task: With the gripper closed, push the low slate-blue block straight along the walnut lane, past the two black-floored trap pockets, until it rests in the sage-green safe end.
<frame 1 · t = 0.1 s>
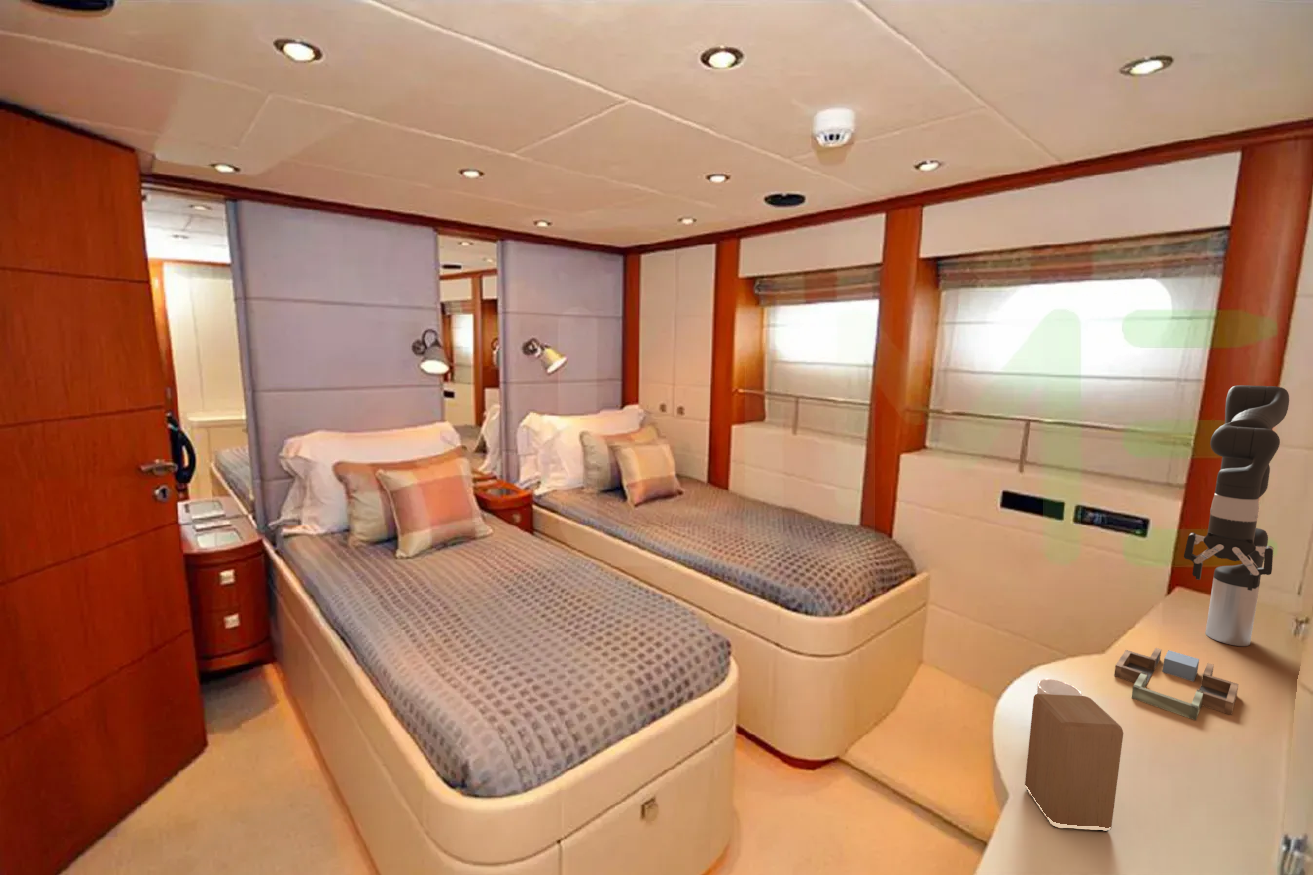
hand: (1223, 583, 133), 29 cm above the table, fingers open, 8 cm apart
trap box: (1173, 685, 144), on the table
white cup: (1054, 732, 127), on the table
slate block: (1179, 673, 150), on the table
wooden block: (1065, 810, 106), on the table
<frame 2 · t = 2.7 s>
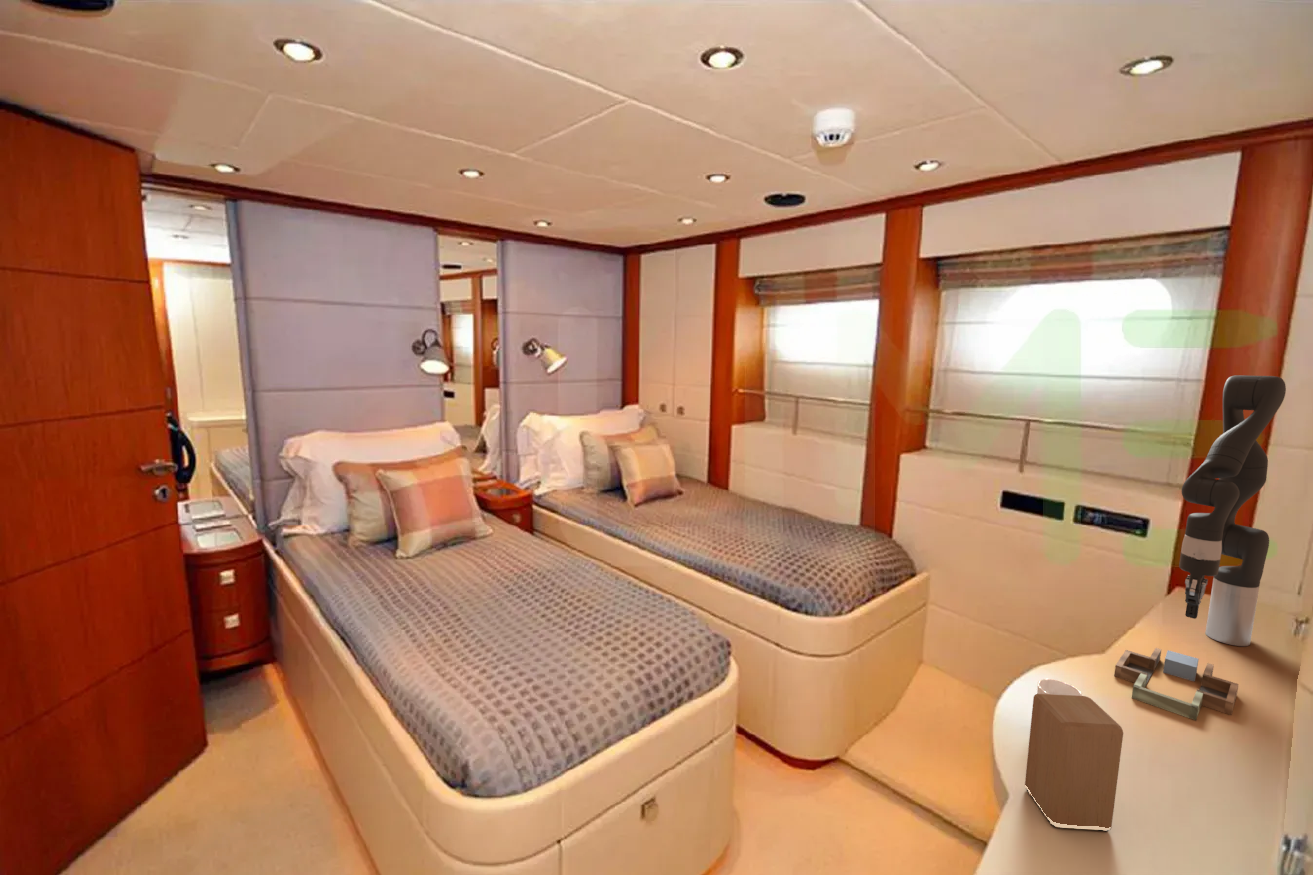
hand: (1191, 616, 154), 12 cm above the table, fingers closed
nothing on the table moved.
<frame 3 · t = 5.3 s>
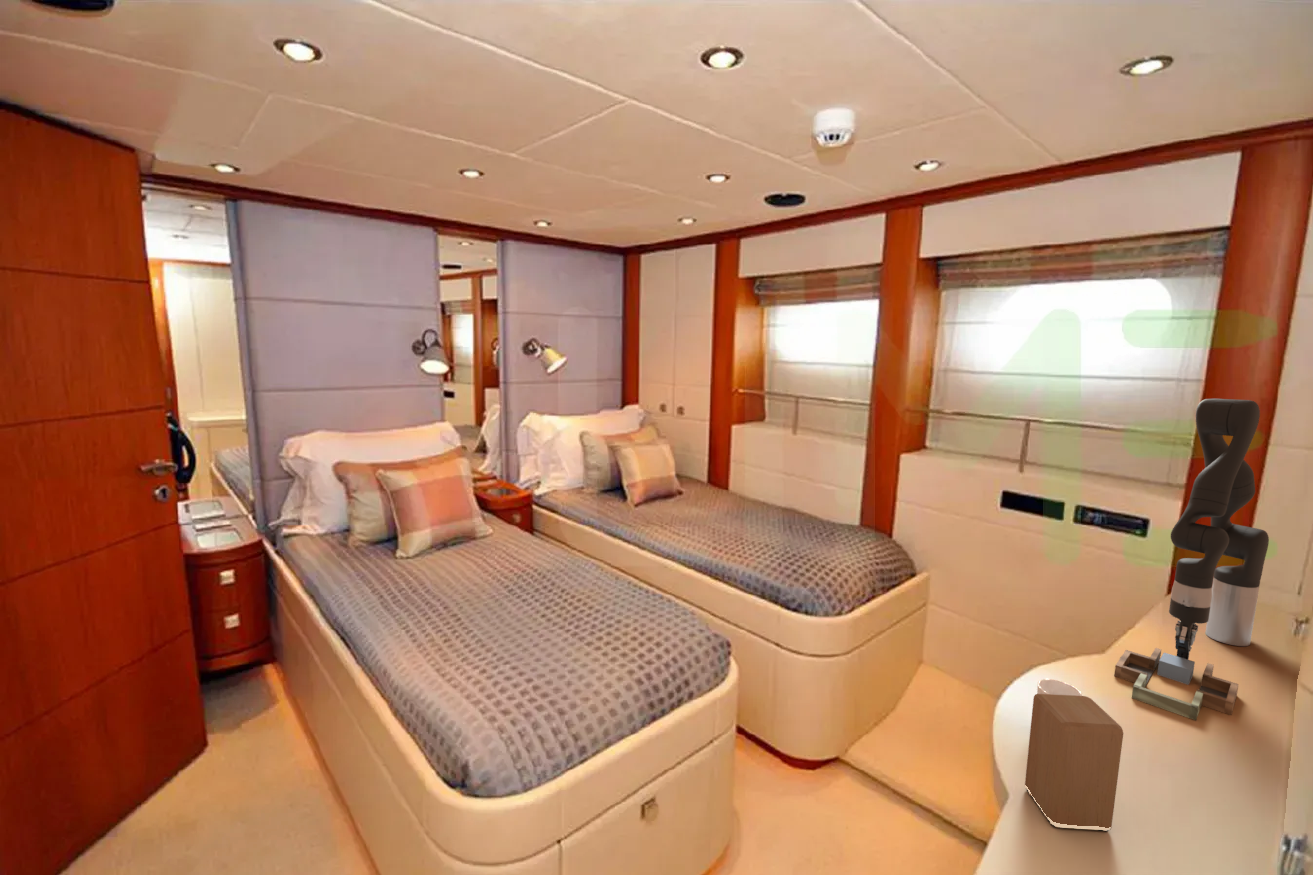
hand: (1181, 663, 151), 2 cm above the table, fingers closed
slate block: (1174, 675, 148), on the table, touching gripper
everything else where it was.
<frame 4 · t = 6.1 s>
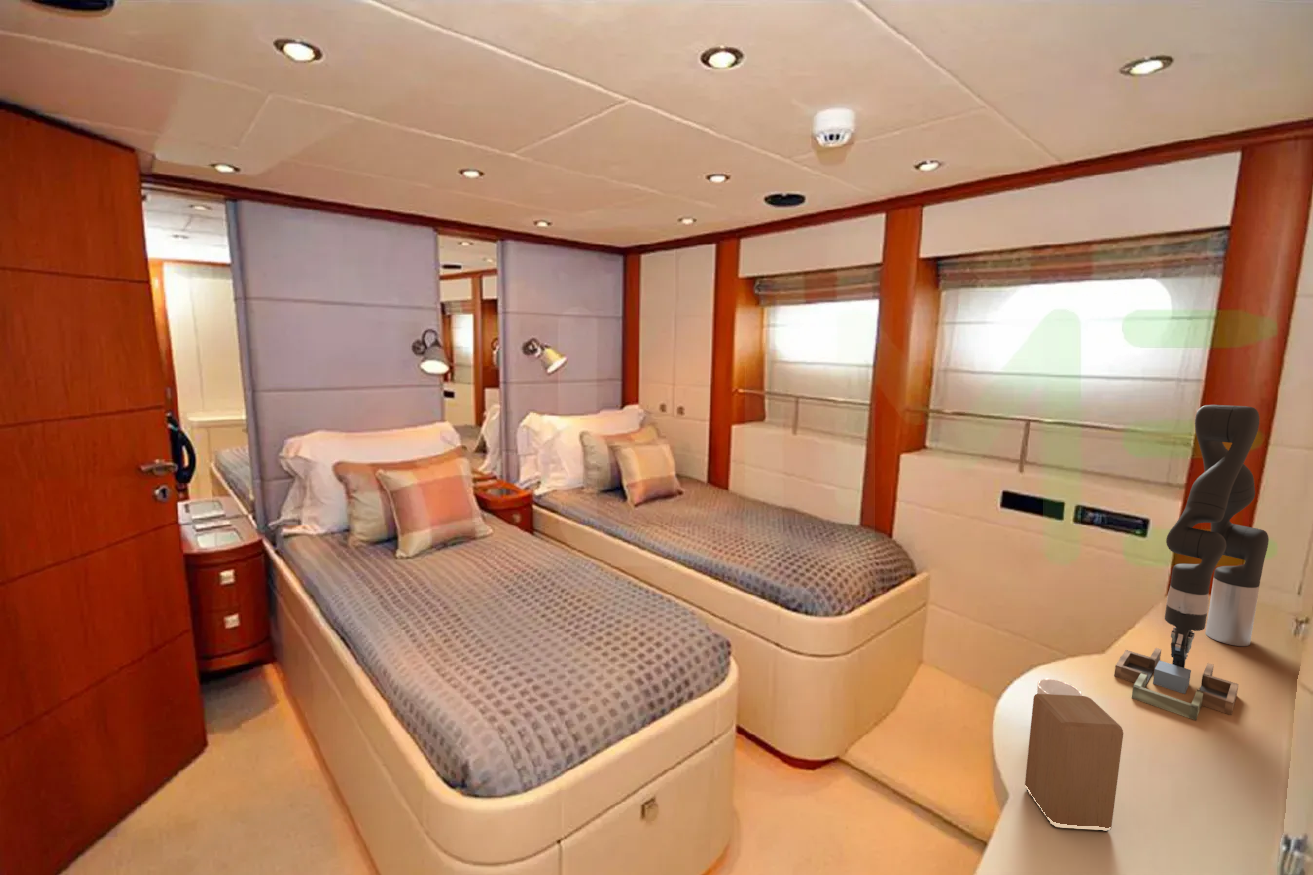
hand: (1177, 671, 147), 2 cm above the table, fingers closed
slate block: (1170, 684, 145), on the table, touching gripper
everything else where it was.
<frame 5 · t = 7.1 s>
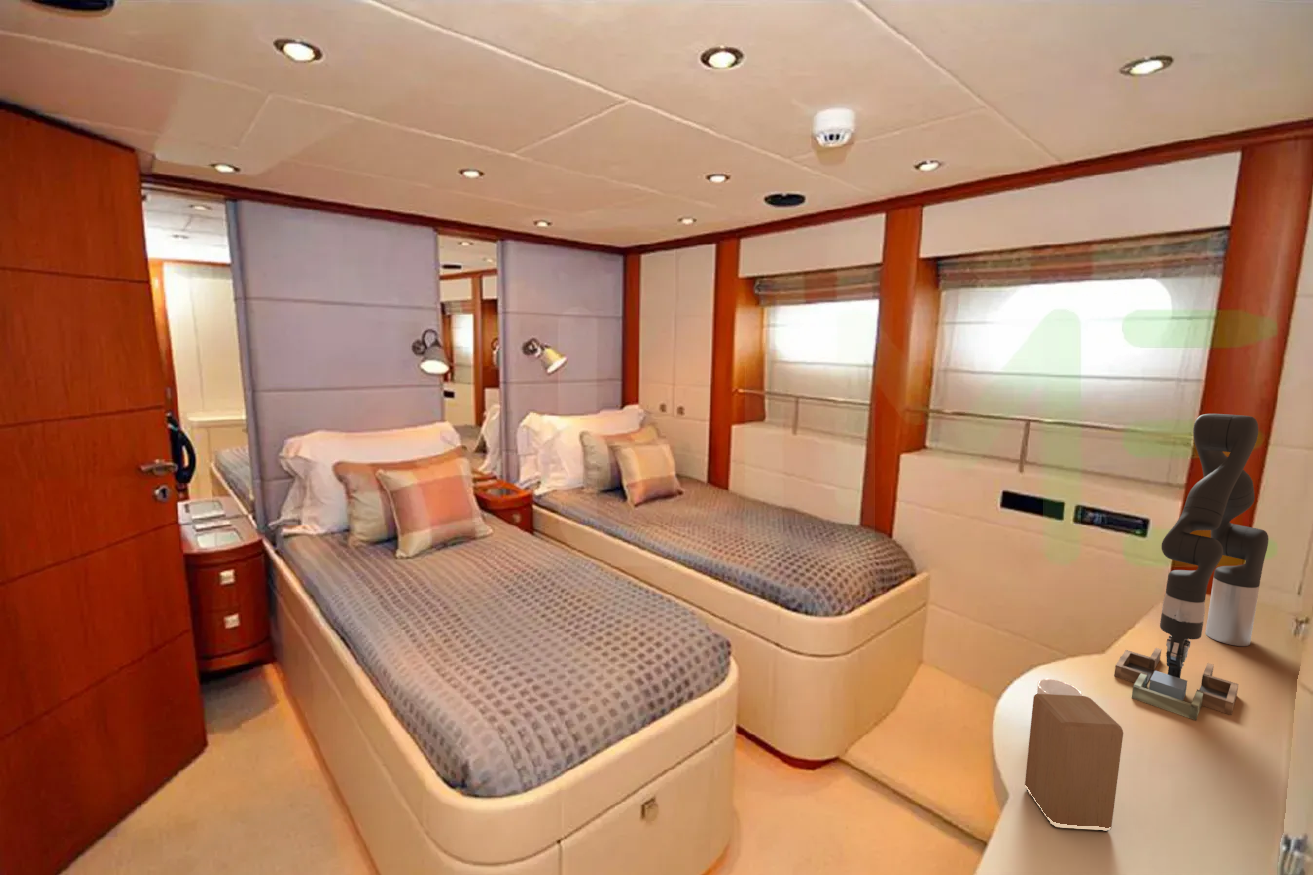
hand: (1173, 680, 143), 2 cm above the table, fingers closed
slate block: (1166, 695, 140), on the table, touching gripper
everything else where it was.
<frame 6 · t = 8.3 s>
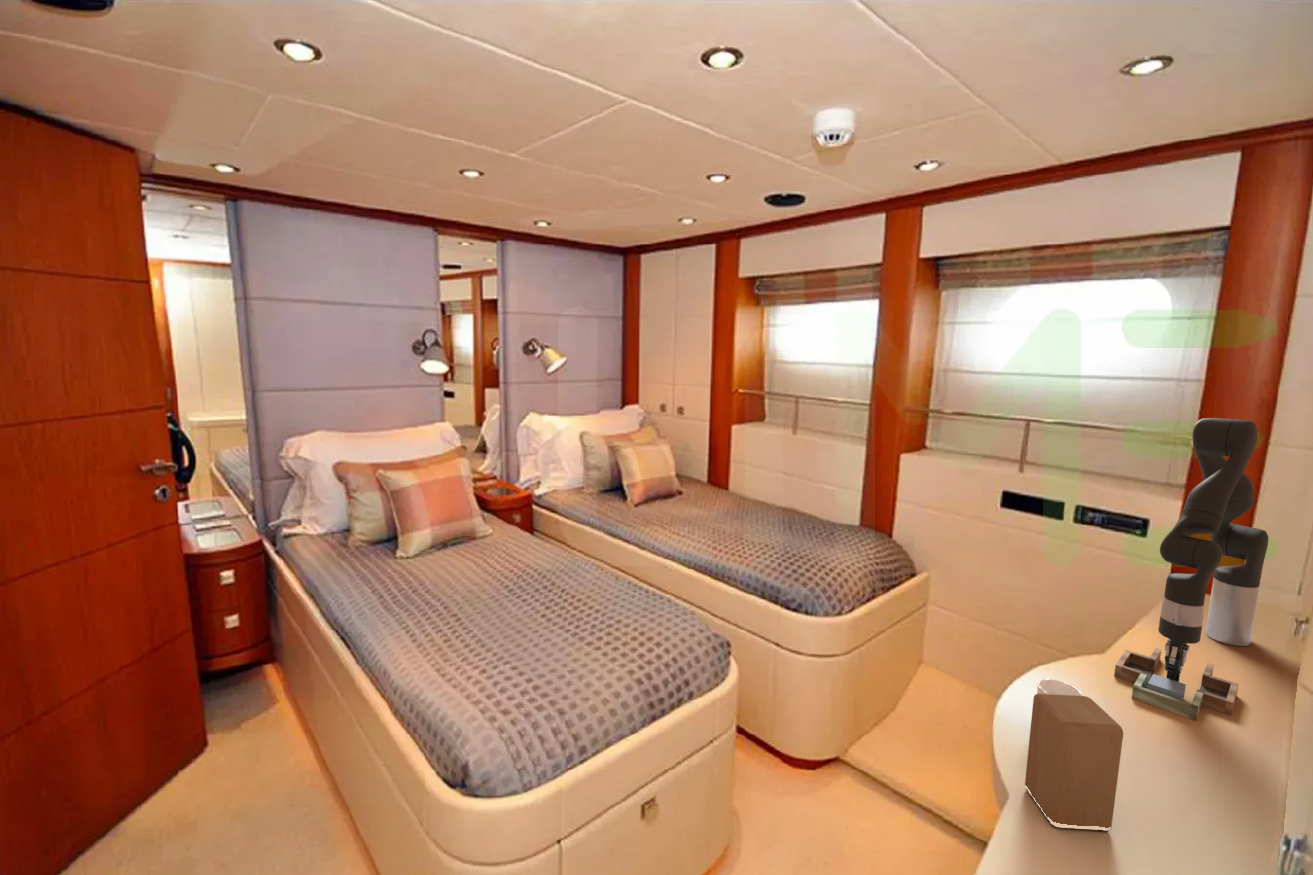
hand: (1171, 685, 141), 2 cm above the table, fingers closed
slate block: (1164, 699, 139), on the table
everything else where it was.
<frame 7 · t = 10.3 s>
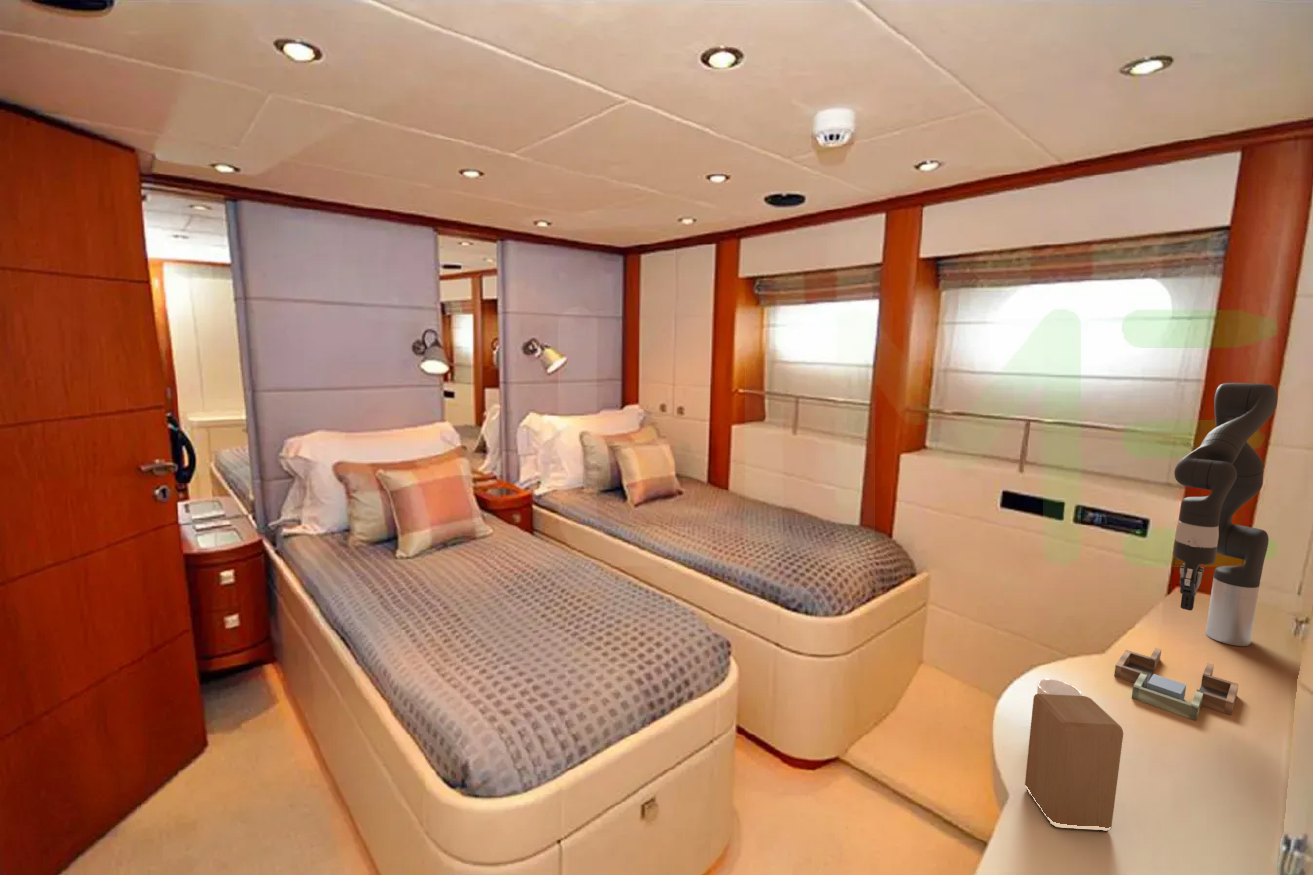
hand: (1186, 608, 143), 19 cm above the table, fingers closed
nothing on the table moved.
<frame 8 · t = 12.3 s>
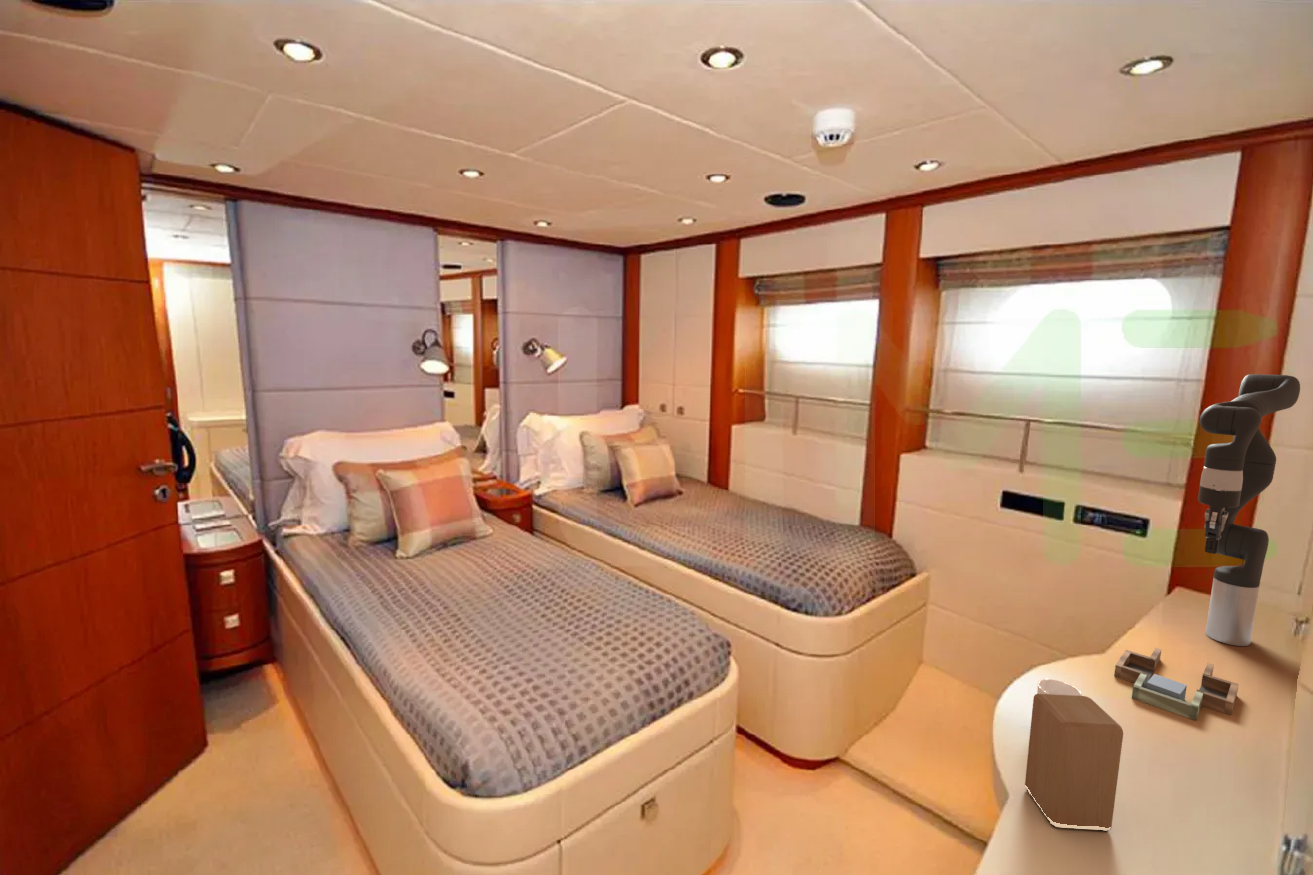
hand: (1210, 552, 148), 31 cm above the table, fingers closed
nothing on the table moved.
at the end: slate block 0.9 cm from the target spot, on the table; slate block tilted 0°; the gripper is holding nothing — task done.
